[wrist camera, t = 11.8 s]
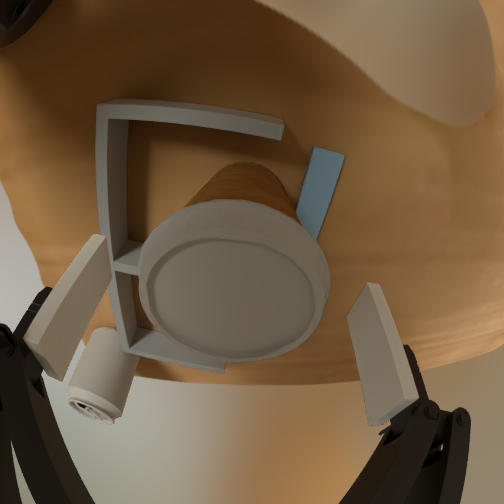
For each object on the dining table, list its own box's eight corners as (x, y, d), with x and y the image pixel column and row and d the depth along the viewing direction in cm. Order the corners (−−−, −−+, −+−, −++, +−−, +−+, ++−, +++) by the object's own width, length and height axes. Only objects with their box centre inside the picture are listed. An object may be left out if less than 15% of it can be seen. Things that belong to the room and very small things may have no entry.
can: (110, 315, 32) (74, 395, 22) (153, 349, 35) (130, 427, 25) (86, 331, 34) (55, 400, 25) (125, 360, 38) (102, 428, 28)
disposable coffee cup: (208, 257, 26) (179, 370, 16) (171, 159, 21) (94, 244, 11) (313, 238, 24) (338, 354, 14) (292, 129, 19) (324, 192, 9)
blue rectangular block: (313, 146, 20) (314, 147, 19) (343, 154, 20) (344, 156, 19) (279, 263, 26) (279, 266, 26) (304, 267, 26) (304, 271, 26)
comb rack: (119, 98, 18) (96, 104, 15) (281, 118, 19) (284, 125, 16) (131, 329, 33) (122, 351, 30) (227, 350, 34) (224, 373, 31)
